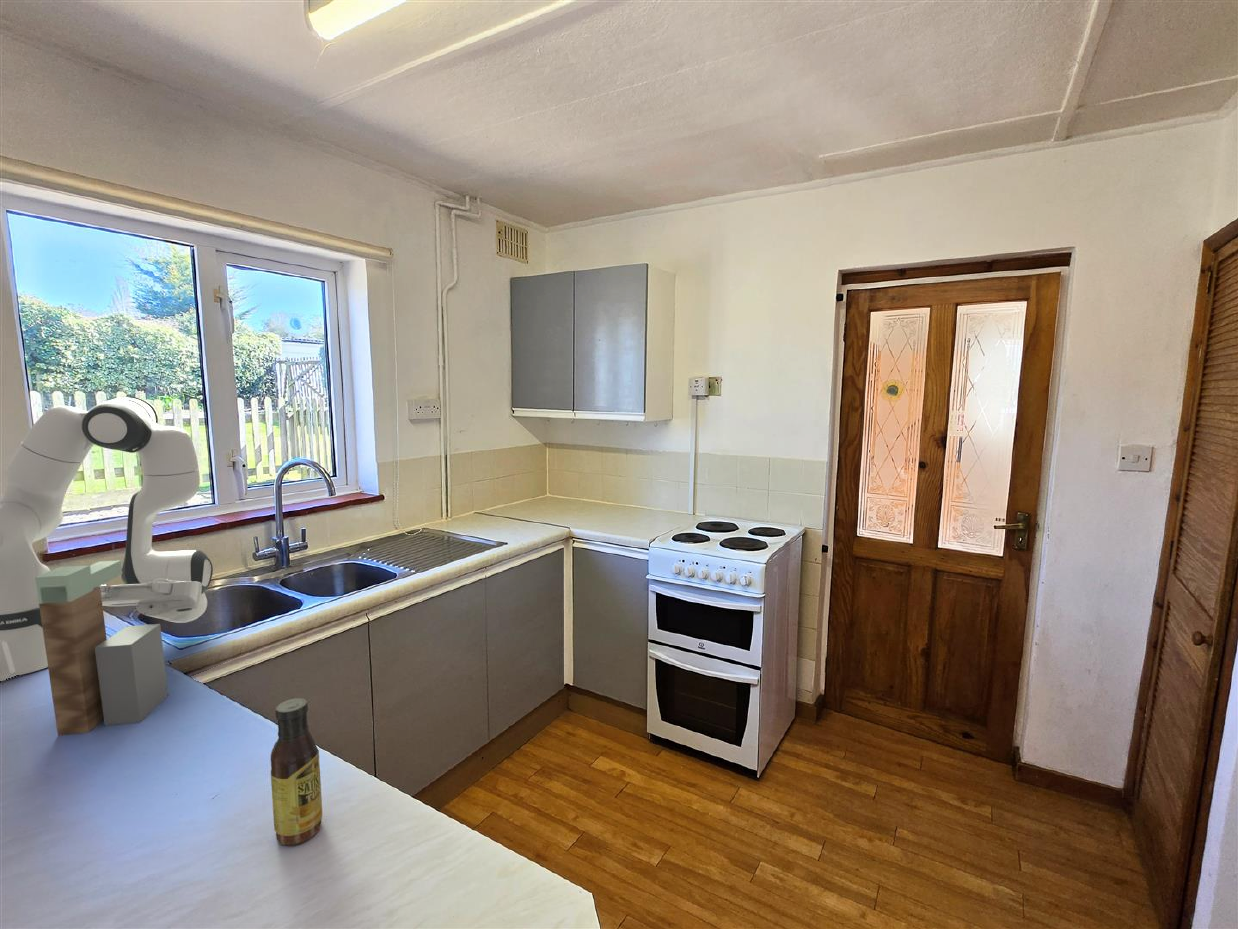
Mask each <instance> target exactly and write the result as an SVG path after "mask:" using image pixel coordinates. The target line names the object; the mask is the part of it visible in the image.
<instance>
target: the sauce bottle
mask: <svg viewBox="0 0 1238 929" xmlns="http://www.w3.org/2000/svg"><path fill="white" fill-rule="evenodd" d="M308 706H309V705H308V701H307V700H306V699H304V698H300V697H299V698H298V697H295V698H291V699H287V700H285V701H283V702H281V703H279V704H278V705H277V706H276V707H275V718H276V720H277V730H278V731H277V737H278V739H277V741H276V742H275V744H274V745H273V748H272V750H271V753H270V767H271V769H270V784H271V798H272V799H271V800H272V813H273V828H274V829H273V830H274V832H275V837H276V838H275V839H276V841H277V842H278V844H280V845H283V846H296V845H299V844H302V843H304V842H306V841H308V840H310V839H311V838H313V837H314V836H315V835H316V834H317V833H318V832H319V830H320V829H321V825H322V819H323V799H322V783H321V782H322V781H321V770H320V769H321V768H320V766H321V765H320V751H319V750H320V749H318V747H317V745H316V743H315V740H314V738H313V737H312V734H311V732H310V731H309V725H308V711H309V707H308Z"/></svg>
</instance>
